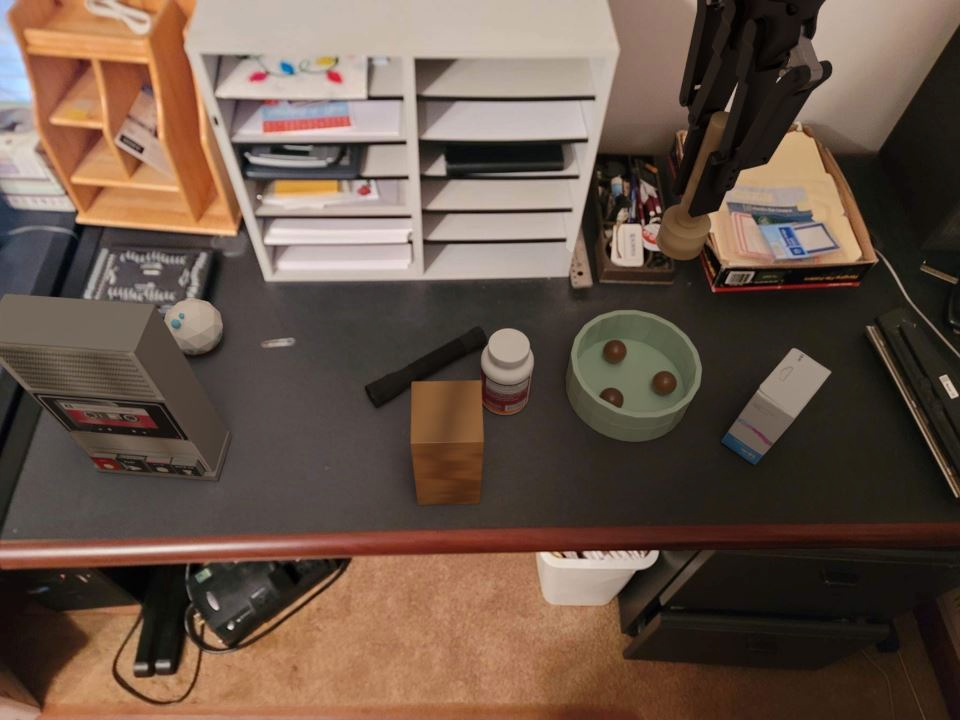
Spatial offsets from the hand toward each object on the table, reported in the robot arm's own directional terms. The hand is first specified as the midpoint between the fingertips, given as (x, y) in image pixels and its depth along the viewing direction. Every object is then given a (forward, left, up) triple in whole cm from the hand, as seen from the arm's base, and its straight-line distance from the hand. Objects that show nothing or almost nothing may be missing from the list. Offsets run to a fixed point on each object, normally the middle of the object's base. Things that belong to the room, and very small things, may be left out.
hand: (694, 200), depth 62 cm
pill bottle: (+4, +15, -31) cm, 35 cm away
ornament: (+24, +49, -31) cm, 63 cm away
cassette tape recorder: (+9, +55, -31) cm, 64 cm away
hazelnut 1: (+4, 0, -29) cm, 29 cm away
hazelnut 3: (-2, -4, -29) cm, 29 cm away
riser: (-4, +25, -31) cm, 40 cm away
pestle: (0, 0, -5) cm, 5 cm away
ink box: (-11, -12, -31) cm, 36 cm away
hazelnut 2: (-2, +4, -29) cm, 29 cm away
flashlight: (+10, +23, -31) cm, 40 cm away
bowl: (0, 0, -31) cm, 31 cm away
